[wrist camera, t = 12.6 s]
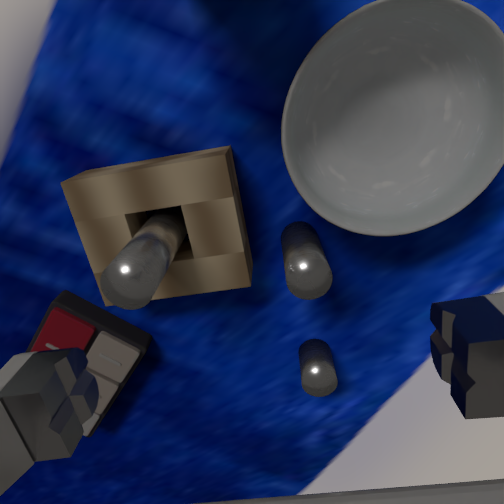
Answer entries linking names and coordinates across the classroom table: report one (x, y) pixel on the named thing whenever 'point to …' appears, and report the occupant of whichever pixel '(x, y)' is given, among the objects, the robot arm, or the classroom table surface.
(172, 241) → the long pin
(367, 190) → the cereal bowl
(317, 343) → the short pin
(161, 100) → the classroom table surface
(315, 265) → the medium pin
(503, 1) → the classroom table surface
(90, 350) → the calculator
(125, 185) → the block
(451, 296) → the classroom table surface
